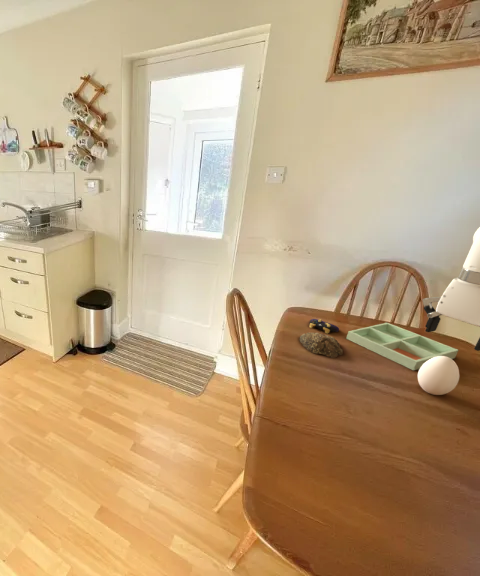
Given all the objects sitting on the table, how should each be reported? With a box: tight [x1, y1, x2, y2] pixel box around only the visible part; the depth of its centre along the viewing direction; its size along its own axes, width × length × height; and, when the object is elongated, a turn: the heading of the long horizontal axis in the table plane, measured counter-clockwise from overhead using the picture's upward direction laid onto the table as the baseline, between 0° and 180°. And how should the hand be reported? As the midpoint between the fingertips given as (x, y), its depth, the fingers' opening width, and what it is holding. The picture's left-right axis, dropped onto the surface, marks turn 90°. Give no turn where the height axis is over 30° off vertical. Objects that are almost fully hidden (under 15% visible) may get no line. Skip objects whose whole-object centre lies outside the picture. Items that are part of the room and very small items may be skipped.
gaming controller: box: [308, 318, 340, 334], centre depth 122 cm, size 10×5×6 cm
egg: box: [417, 356, 460, 396], centre depth 85 cm, size 7×7×12 cm
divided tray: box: [345, 322, 459, 371], centre depth 108 cm, size 20×20×4 cm
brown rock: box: [299, 332, 343, 358], centre depth 109 cm, size 13×12×5 cm
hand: (453, 339), depth 81 cm, fingers open, 9 cm apart
